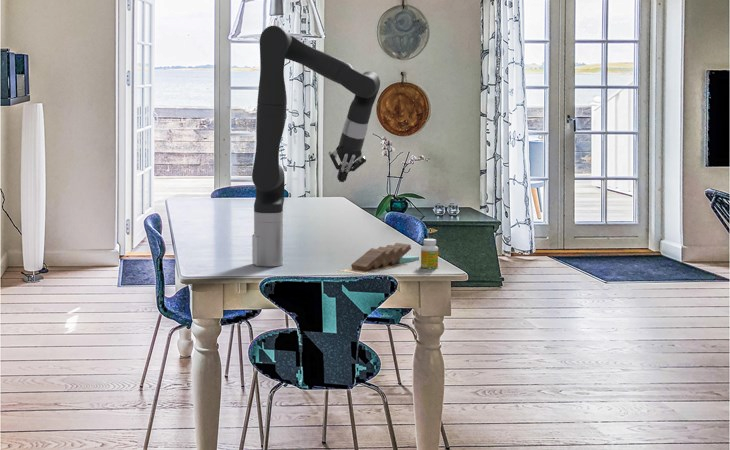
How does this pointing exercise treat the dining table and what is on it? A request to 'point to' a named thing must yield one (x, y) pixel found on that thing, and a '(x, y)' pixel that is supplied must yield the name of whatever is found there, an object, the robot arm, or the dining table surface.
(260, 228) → the robot arm
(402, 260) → the domino
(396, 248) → the domino
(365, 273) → the domino board
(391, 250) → the domino
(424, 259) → the supplement bottle
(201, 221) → the dining table surface
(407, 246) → the domino
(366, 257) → the domino
